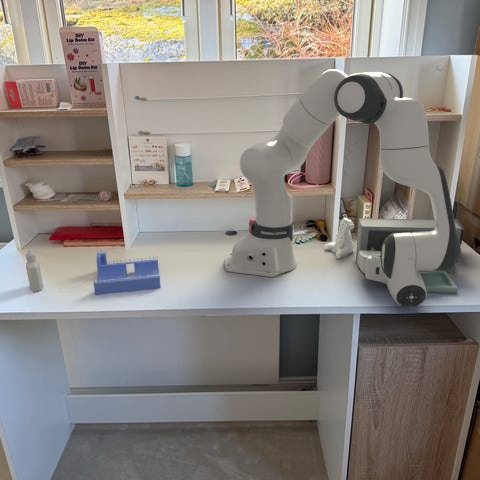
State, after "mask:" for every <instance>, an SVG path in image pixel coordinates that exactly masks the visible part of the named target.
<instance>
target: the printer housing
mask: <svg viewBox="0 0 480 480" xmlns="http://www.w3.org/2000/svg"><path fill="white" fill-rule="evenodd" d="M455 226H456V231H457V235H458V238H459V241H460V235H461V229H462V228H461V227H460V226H459V225H458V224H457V223H456V222H455ZM357 227H358V229H357V238H356V239H357V240H356V241H357V242H356V252H355V263H356V265H357V269H358V270H360V271H362V270H361V269H360V267H359V265H358V252H359V251H361V250H363V251H370V250H371V248H377V251H381V246H382V244H383V242H384V241H385V238H387V237H388V236H389V235H390V234H394V233H407V232H411V233H412V232H428V231H433V230H434V229H435V228H436V225H435V220H434V219H408V218H407V219H405V218H371V217H370V218H368V217H367V218H366V217H362V218H361V217H359V218H358V225H357ZM437 271H441V270H437ZM455 271H456V266H454V267H453V268H452V269H451V270H449V271H446V272H447V273H448V274H449V273H453V274H454V273H455Z"/></svg>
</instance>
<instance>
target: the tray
mask: <svg viewBox="0 0 480 480" xmlns="http://www.w3.org/2000/svg"><path fill="white" fill-rule="evenodd" d="M420 274H421V276H422V278H423V281H424V283H425V287H426V291H427V293H428V294H446V295H448V294H451V295H453V294H454V295H457V293H458V287H457V285H456V284H455V282H454V281H453V280H452V278H451V276H450V275H449V272H446V271H437V270H435V271H432V272H429V273H420Z"/></svg>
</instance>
